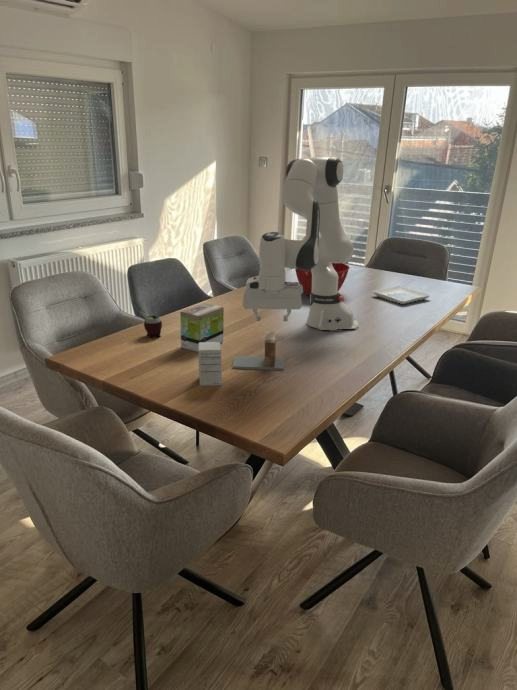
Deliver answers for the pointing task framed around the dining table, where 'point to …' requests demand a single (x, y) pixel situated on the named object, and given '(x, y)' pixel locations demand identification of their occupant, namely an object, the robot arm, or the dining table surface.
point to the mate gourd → (153, 324)
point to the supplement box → (210, 363)
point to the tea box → (201, 325)
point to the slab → (270, 349)
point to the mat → (256, 363)
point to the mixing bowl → (306, 276)
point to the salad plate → (400, 289)
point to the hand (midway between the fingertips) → (271, 320)
